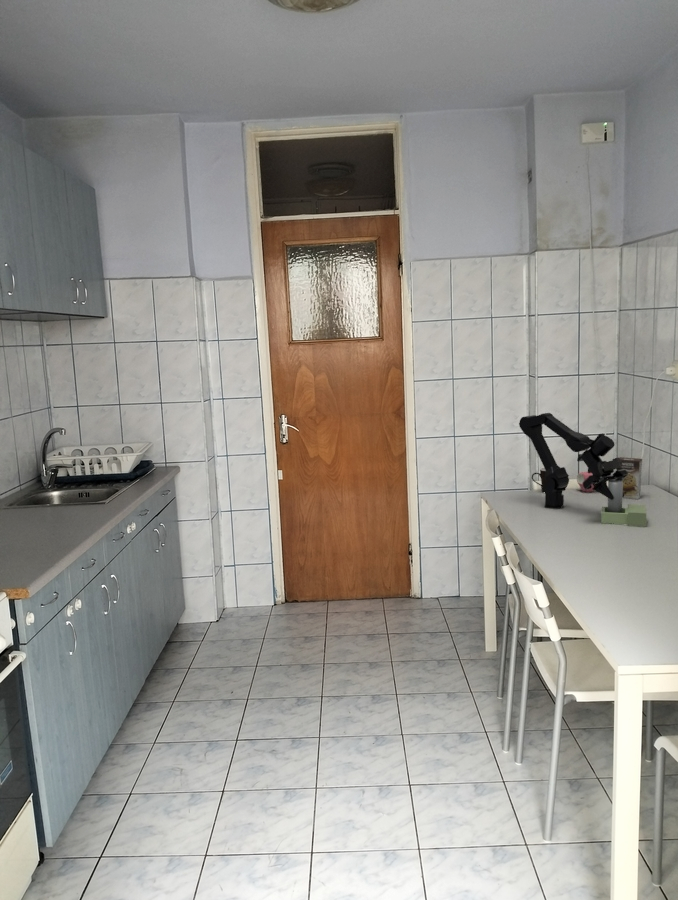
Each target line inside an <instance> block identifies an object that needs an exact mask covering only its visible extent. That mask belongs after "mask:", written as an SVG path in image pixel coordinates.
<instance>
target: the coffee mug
mask: <svg viewBox="0 0 678 900" xmlns="http://www.w3.org/2000/svg"><path fill="white" fill-rule="evenodd" d="M539 472H540V473H539ZM539 472H534V473H532V474H531V479H532V481H533V482H534V483H535V484H537V485H538V486H540V487H542V486H543V485H544V484H545V483H546V479H545V472H546V470H545V468H544V467H541V468H539ZM535 475H538V476H539V477H540V481H541V484H540V483H539V482H538V481H536V480H535V479H534V476H535Z"/></svg>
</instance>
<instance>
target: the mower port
mask: <svg viewBox="0 0 678 900" xmlns="http://www.w3.org/2000/svg"><path fill="white" fill-rule="evenodd" d="M600 521H601V524H604V523H612V524H611V525H622V524H628V525H627V526H628V527H642V528H646V527H647V507H646V504H627V507H622V513H611V512H608V506H602V507H601V520H600ZM613 523H614V524H613Z"/></svg>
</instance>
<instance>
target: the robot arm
mask: <svg viewBox="0 0 678 900" xmlns="http://www.w3.org/2000/svg"><path fill="white" fill-rule="evenodd" d="M543 425H544V426H546V427H547V428H548V429H550V430H551V431H552V432H554V433H555V434H556V435H557V436H558V437H560V438H562V439H563V440H564V441H565V444H566V446H567V447H568V448H569V449H570V450H571V451H572V452H574V453H579V452H582V453H579V454H577V455H578V456H577V462H584V464H585V465H586V467H587V472H588V473H592V474H593V475H590V476H589V477H588V478H587V479H586V480H585V481H584V482H583V487H584V488H585V490H587V489H591V487H592V486H591V484H593V486H594V488H592V490H593V491H595V492H597V493H599V494H601V495H603V496H604V497H606V498H607V499H608V498H609V499H611V500H613V499H614V497H613V495H612V493H611V491H610V490H609V488H608V481H610V480H619V481H622V480H623V479H624V478H625V477H626V476H627V475H628V473H627V471H626V470H623V469H622V470H617V468H621V465H622V461H621V460H620V457H615V458H612V460H608V461H606V460H602V458H601V457H605V456H606V455H607V454H608V453H609V452H610V451H611V450H612V449H613V448H614V447H615V442H614V440H613V439H612V438H610V436H607V435H605V434H604V433H599V434H598V435H597V436H596V437H595V438H594V439H591V438H590V437H589V436H587V435H586V434H584V433H581V432H578V431H575V430H573V429H571V428H570V427H569V426H568V425H566V424H565V423H563V422H562V421H560V420H559V418H557V417H555V416H554V415H553V414H552V413H550V412H545V413H540V414H537V415H535V414H533V415H526V416H522V417H521V418H520V420H519V422H518V426H519V428H520V429H521V431H522V433H523V434H524V435H525V436H526V437H528V438H529V439H530V440H531V443H532V445H533V447H534V449H535V451H536V453H537V456H538V457H539V459H540V462H541V463H542V466H543V468H545V470H546V472H545V479H546V483H545V484H544V485H543V486H542V487H541V486H540V487H541V491H542V493H543V492H545V493H544V494H545V500H544V504H545V505H544V508H547V509H548V508H550V509H562V508H563V507H564V501H565V498H564V496H565V495H564V493H563V491H566V489H567V486H568V485H569V482H570V478H569V476H570V475H569V474H568V473H567V472H568V471H567V470H566V467H564V466H563V467H560V465H558V464H557V462H556V459H555V458H554V455H553V453H552V451H551V449H550V447H549V445H548V443H547V441H546V439H545V437H544V435H543ZM588 468H589V470H588ZM616 470H617V471H616ZM623 497H624V493H623V496H622V499H624V498H623Z"/></svg>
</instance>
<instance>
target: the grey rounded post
mask: <svg viewBox="0 0 678 900" xmlns="http://www.w3.org/2000/svg"><path fill="white" fill-rule="evenodd" d="M607 486H608V488H609V490H610V491H611V493H612V495H613V497H614V499H613V500H611V499H609V498H608V497H607V507H608V512H611V513H622V508H623V498H622V496H623V481H619V480H610V481H607Z"/></svg>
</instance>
